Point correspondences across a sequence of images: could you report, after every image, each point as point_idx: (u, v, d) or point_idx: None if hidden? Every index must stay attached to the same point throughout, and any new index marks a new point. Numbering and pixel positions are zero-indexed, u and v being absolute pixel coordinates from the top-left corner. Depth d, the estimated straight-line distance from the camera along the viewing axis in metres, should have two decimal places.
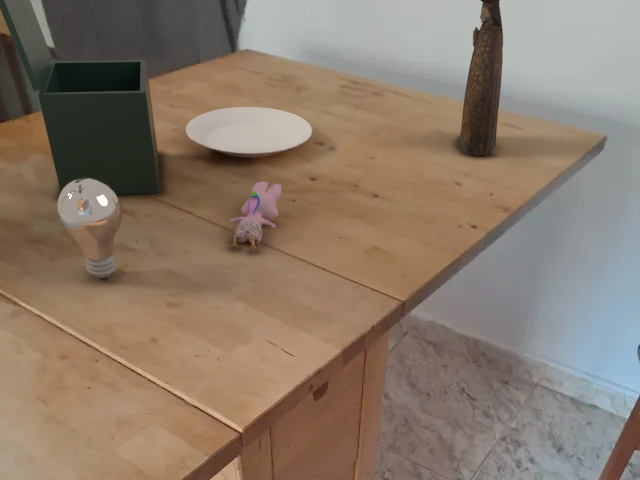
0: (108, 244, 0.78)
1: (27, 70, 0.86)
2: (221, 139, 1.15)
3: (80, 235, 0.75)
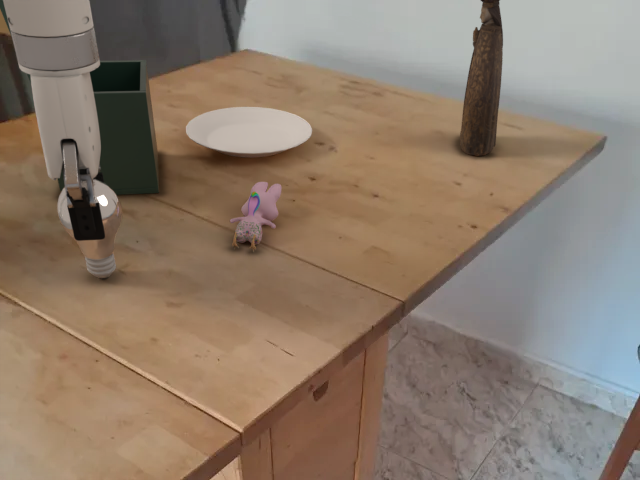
0: (108, 244, 0.78)
1: None
2: (221, 139, 1.15)
3: None
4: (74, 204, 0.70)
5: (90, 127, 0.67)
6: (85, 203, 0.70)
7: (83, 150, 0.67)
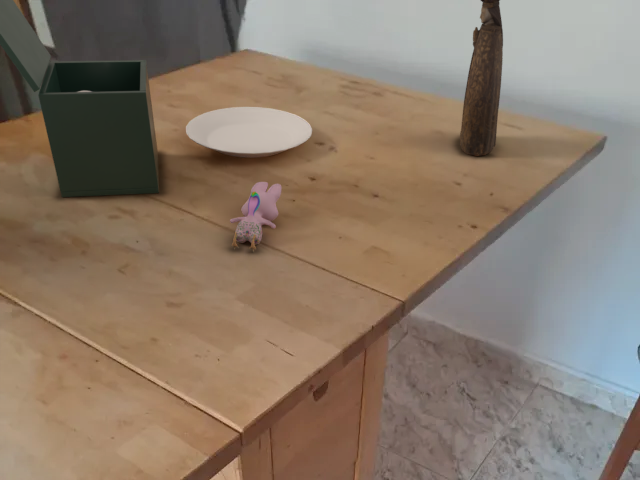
0: None
1: (22, 72, 0.86)
2: (221, 139, 1.15)
3: None
4: None
5: None
6: None
7: None
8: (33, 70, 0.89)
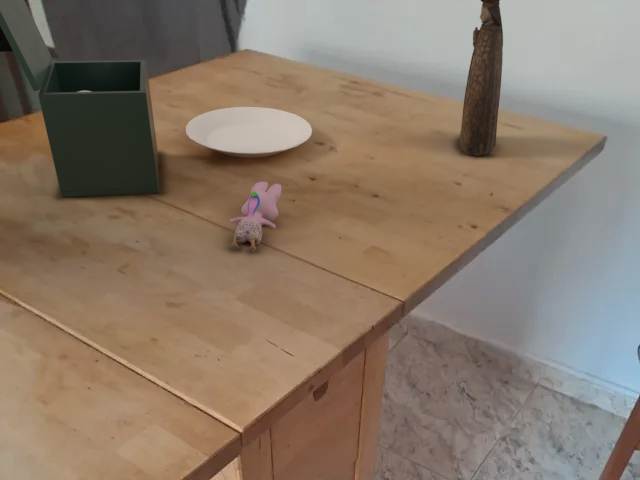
0: None
1: (25, 71, 0.86)
2: (221, 139, 1.15)
3: None
4: None
5: None
6: None
7: None
8: (35, 70, 0.89)
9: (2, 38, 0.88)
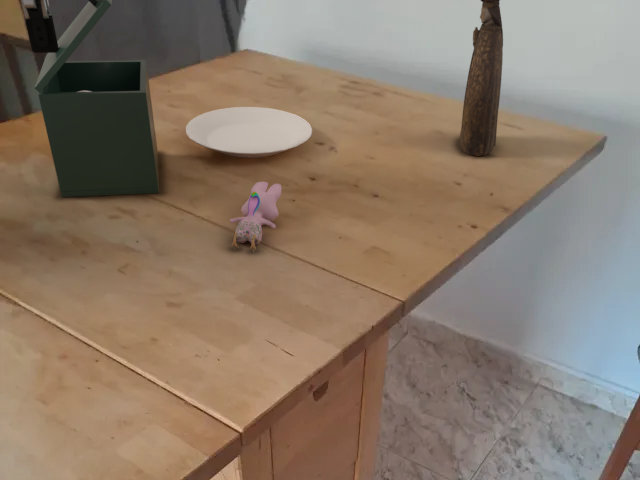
0: None
1: (47, 75, 0.87)
2: (221, 139, 1.15)
3: None
4: (30, 14, 0.86)
5: None
6: (39, 13, 0.87)
7: None
8: None
9: (43, 39, 0.89)
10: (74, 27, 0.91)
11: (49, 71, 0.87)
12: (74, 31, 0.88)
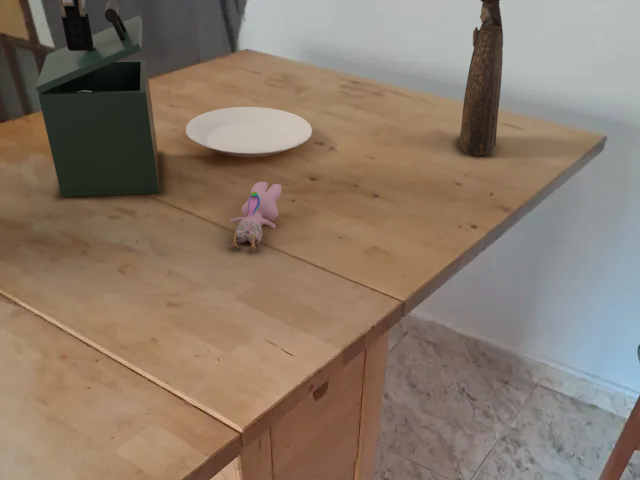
0: None
1: (53, 82, 0.88)
2: (221, 139, 1.15)
3: None
4: (67, 12, 0.87)
5: None
6: (76, 11, 0.87)
7: None
8: None
9: (79, 37, 0.90)
10: None
11: (57, 79, 0.87)
12: (92, 53, 0.90)
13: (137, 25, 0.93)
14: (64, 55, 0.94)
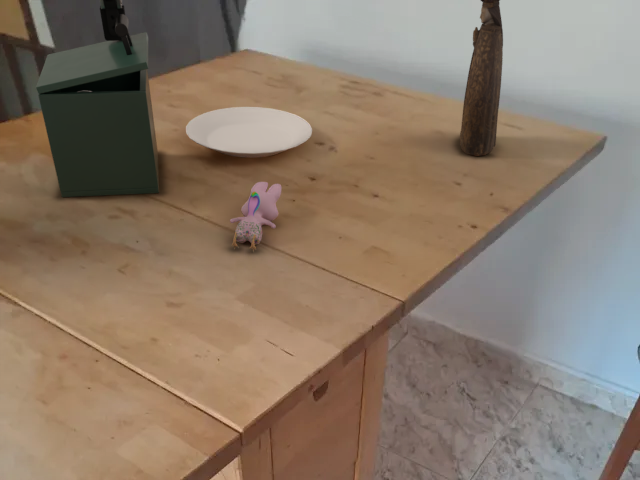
0: None
1: (55, 85, 0.88)
2: (221, 139, 1.15)
3: None
4: (105, 4, 0.92)
5: None
6: (114, 3, 0.92)
7: None
8: None
9: None
10: (95, 56, 0.93)
11: (59, 83, 0.88)
12: (97, 62, 0.91)
13: (144, 42, 0.94)
14: (66, 59, 0.95)
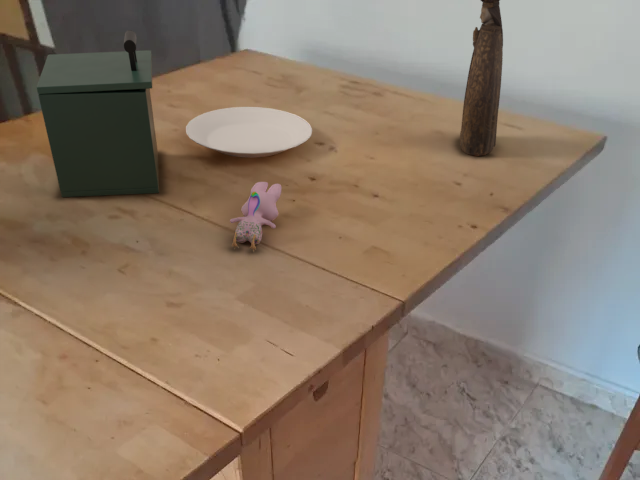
0: None
1: (56, 88, 0.88)
2: (221, 139, 1.15)
3: None
4: None
5: None
6: None
7: None
8: None
9: None
10: (98, 66, 0.94)
11: (60, 87, 0.88)
12: (100, 73, 0.92)
13: (149, 61, 0.96)
14: (68, 63, 0.95)
